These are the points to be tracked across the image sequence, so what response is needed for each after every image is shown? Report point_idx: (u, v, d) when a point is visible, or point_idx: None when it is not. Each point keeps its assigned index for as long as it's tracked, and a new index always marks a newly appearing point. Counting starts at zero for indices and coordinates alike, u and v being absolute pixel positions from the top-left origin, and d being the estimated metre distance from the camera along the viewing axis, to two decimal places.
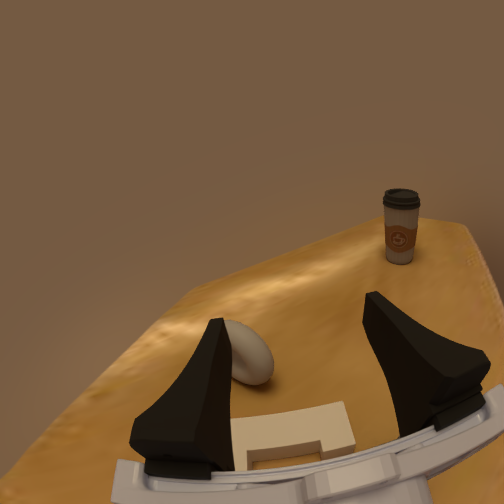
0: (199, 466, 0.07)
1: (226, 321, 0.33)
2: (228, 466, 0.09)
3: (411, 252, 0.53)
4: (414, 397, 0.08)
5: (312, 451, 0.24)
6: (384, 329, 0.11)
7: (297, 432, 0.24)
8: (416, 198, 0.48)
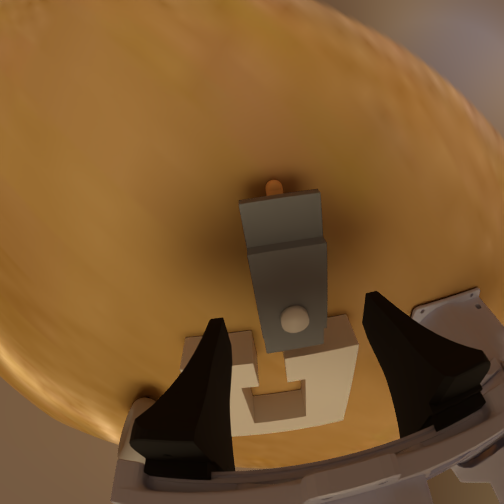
0: (199, 466, 0.07)
1: None
2: (228, 466, 0.09)
3: None
4: (414, 397, 0.08)
5: None
6: (384, 329, 0.11)
7: (230, 401, 0.23)
8: None
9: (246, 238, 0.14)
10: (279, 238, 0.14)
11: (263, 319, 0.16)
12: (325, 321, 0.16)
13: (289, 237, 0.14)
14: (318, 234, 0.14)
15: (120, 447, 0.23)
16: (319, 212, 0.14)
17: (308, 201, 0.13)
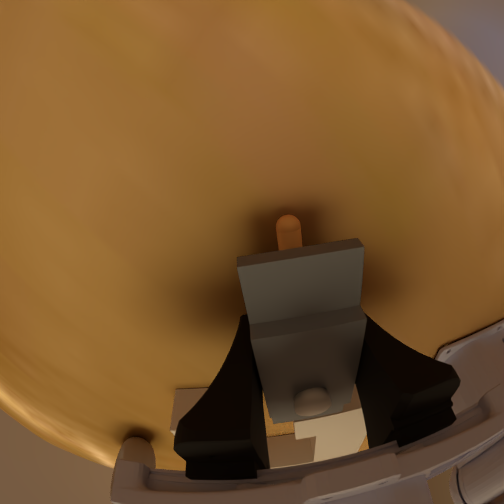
0: (246, 465, 0.07)
1: None
2: (267, 463, 0.08)
3: None
4: (378, 409, 0.08)
5: None
6: None
7: None
8: None
9: (249, 312, 0.09)
10: (298, 311, 0.09)
11: (271, 402, 0.11)
12: (349, 397, 0.11)
13: (312, 309, 0.09)
14: (354, 303, 0.09)
15: (112, 486, 0.19)
16: (359, 274, 0.09)
17: (345, 260, 0.08)
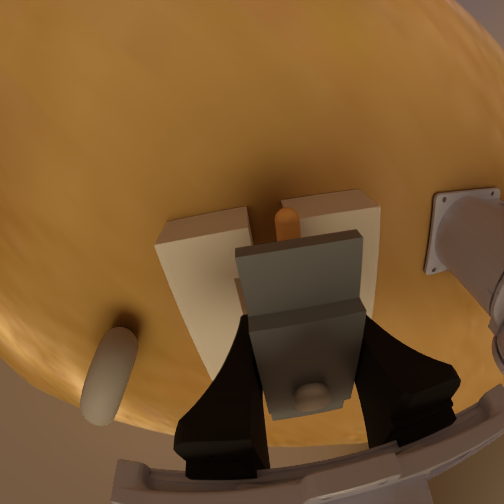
0: (246, 465, 0.07)
1: (90, 421, 0.17)
2: (267, 463, 0.08)
3: None
4: (378, 409, 0.08)
5: None
6: None
7: (220, 306, 0.19)
8: None
9: (247, 304, 0.09)
10: (297, 303, 0.09)
11: (270, 397, 0.11)
12: (349, 393, 0.11)
13: (311, 301, 0.09)
14: (353, 295, 0.09)
15: None
16: (358, 266, 0.09)
17: (344, 251, 0.08)
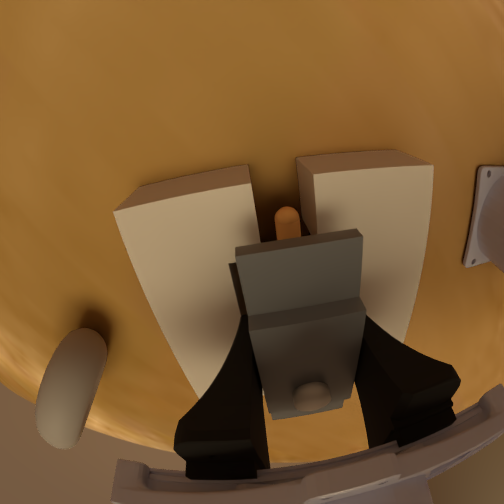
0: (246, 465, 0.07)
1: None
2: (267, 463, 0.08)
3: None
4: (378, 409, 0.08)
5: None
6: None
7: (208, 305, 0.13)
8: None
9: (247, 303, 0.09)
10: (297, 302, 0.09)
11: (270, 396, 0.11)
12: (349, 392, 0.11)
13: (311, 300, 0.09)
14: (353, 295, 0.09)
15: None
16: (358, 265, 0.09)
17: (344, 250, 0.08)
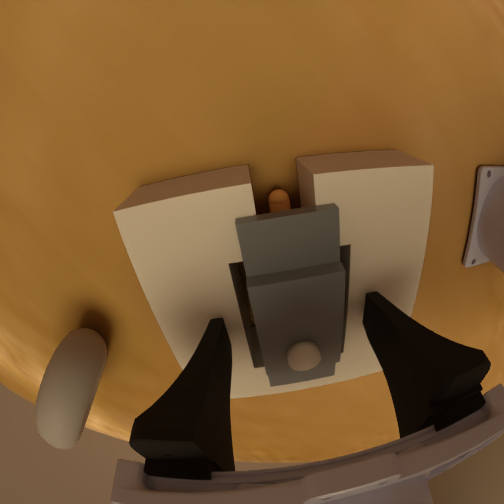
0: (199, 466, 0.07)
1: None
2: (228, 466, 0.09)
3: None
4: (414, 397, 0.08)
5: None
6: (384, 329, 0.11)
7: (207, 305, 0.13)
8: None
9: (245, 266, 0.11)
10: (286, 265, 0.12)
11: (266, 356, 0.13)
12: (338, 355, 0.14)
13: (299, 263, 0.11)
14: (334, 259, 0.11)
15: None
16: (337, 233, 0.11)
17: (324, 219, 0.11)
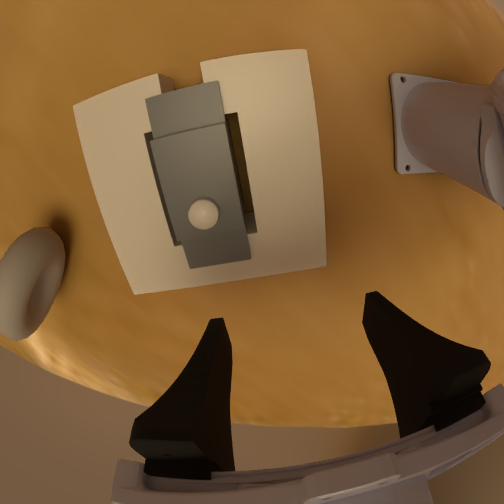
0: (199, 466, 0.07)
1: None
2: (228, 466, 0.09)
3: None
4: (414, 397, 0.08)
5: None
6: (384, 329, 0.11)
7: (130, 173, 0.15)
8: None
9: (152, 130, 0.13)
10: (182, 127, 0.14)
11: (173, 215, 0.15)
12: (241, 220, 0.16)
13: (191, 125, 0.14)
14: (220, 120, 0.13)
15: None
16: (218, 99, 0.13)
17: (206, 89, 0.13)
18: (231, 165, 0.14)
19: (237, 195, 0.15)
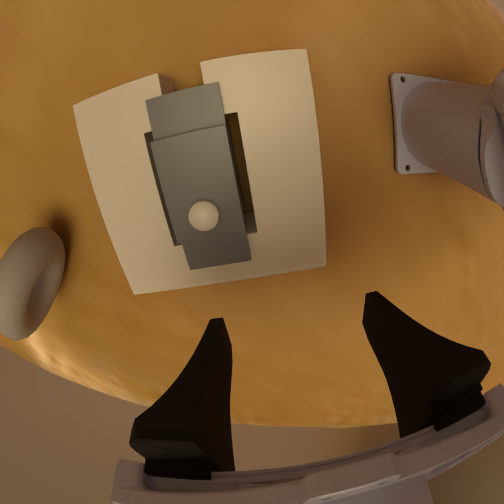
0: (199, 466, 0.07)
1: None
2: (228, 466, 0.09)
3: None
4: (414, 397, 0.08)
5: None
6: (384, 329, 0.11)
7: (130, 172, 0.15)
8: None
9: (153, 131, 0.14)
10: (182, 128, 0.14)
11: (173, 216, 0.15)
12: (241, 222, 0.16)
13: (192, 127, 0.14)
14: (220, 122, 0.14)
15: None
16: (219, 100, 0.13)
17: (206, 90, 0.13)
18: (231, 167, 0.14)
19: (237, 197, 0.15)
